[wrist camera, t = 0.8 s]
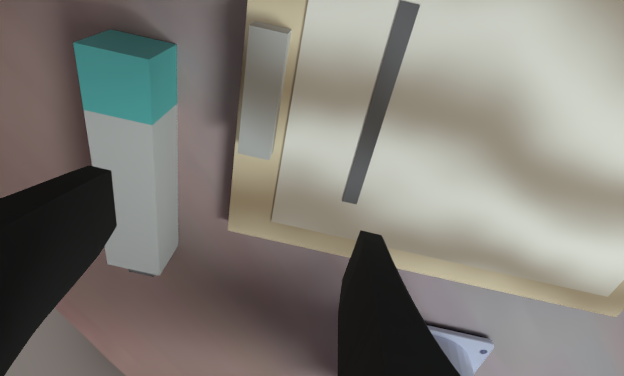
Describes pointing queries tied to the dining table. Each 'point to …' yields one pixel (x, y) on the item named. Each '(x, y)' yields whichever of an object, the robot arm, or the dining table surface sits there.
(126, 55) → the eraser
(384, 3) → the cream rectangular tray
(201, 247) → the dining table surface
